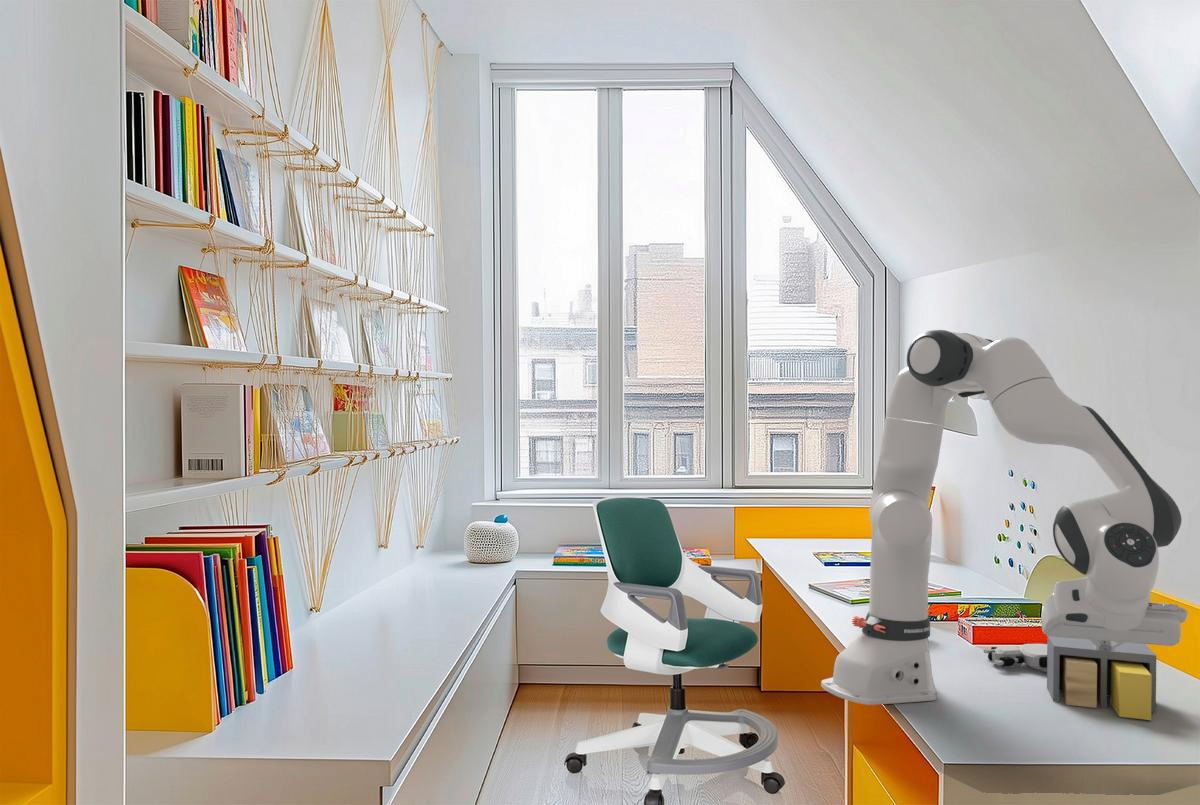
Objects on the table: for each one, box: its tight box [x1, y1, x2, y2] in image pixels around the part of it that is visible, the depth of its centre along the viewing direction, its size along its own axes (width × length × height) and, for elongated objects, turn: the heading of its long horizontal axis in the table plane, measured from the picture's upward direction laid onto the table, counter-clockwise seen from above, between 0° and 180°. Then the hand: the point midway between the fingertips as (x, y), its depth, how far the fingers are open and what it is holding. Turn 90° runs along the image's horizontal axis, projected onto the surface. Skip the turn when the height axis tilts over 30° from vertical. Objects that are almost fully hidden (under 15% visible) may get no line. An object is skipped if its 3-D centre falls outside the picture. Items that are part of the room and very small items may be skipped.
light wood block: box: [1059, 655, 1098, 709], centre depth 172 cm, size 8×5×8 cm, turn 160°
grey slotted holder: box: [1046, 635, 1157, 714], centre depth 173 cm, size 9×17×10 cm, turn 70°
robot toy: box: [982, 643, 1047, 673], centre depth 195 cm, size 12×4×15 cm
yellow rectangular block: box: [1110, 661, 1152, 721], centre depth 166 cm, size 8×5×8 cm, turn 160°
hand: (1103, 647), depth 155 cm, fingers closed
